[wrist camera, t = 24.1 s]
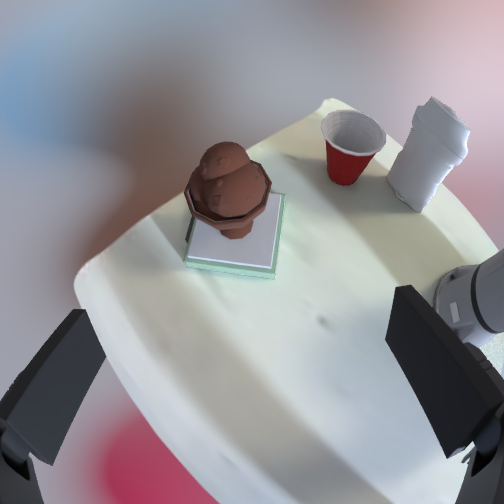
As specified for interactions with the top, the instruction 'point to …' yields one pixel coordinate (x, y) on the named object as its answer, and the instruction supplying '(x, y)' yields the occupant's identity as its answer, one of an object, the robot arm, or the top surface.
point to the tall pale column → (428, 153)
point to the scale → (239, 244)
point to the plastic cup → (350, 143)
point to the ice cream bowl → (228, 190)
